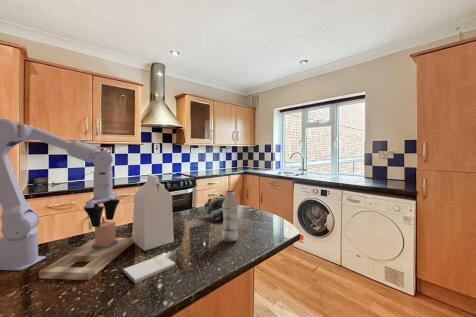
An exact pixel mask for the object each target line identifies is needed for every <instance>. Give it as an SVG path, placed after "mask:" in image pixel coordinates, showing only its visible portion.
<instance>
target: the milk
mask: <svg viewBox="0 0 476 317" xmlns="http://www.w3.org/2000/svg"><path fill="white" fill-rule="evenodd" d="M173 215H174V212H173V197H172V194H171V193H170V191H169V190H168V189H166V188H165V186H164V185H163V183H160V178H159V176H158V175H154V174H148V175H147V180H146V182H145V183H144V184H143V185H142V186H141V187H140V188H139V189H138V190H137V191H136V192H135V194H134V197H133V214H132V232H131V238H133V243H134V244H135V245H137V246H138V247H139V248H140V249H142V250H143V251H148V250H152V249H155V248H158V247H161V246H165V245H167V244H171V243H174V242H175V240H174V217H173Z"/></svg>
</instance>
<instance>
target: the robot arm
mask: <svg viewBox="0 0 476 317" xmlns="http://www.w3.org/2000/svg"><path fill="white" fill-rule="evenodd" d="M25 140H26V141H40V142H42V143H44V144H48V145H51V146H53V147H57V148H59V149H62V150H65V151H66V153H67V154H68V156H69V157H73V158H75V159H77V160H81V161H83V162H86V163H89V164H90V163H92V164H93V165H94V168H93V170H94V171H93V172H92V173H93V178H92V179H93V186H92V187H93V197H92V198H90V199H88V200H87V201H85V206H83V210H84V211H85V213H86V214H87V216H88V218H89V220H90V223H91V227H93V228H95V227H99V226H100V223H101V219H102V218H101V217H102V215H103V214H102V213H103V210H104V212H105V214H104V215H105V219H106V220H108V221H112V220H114V218H115V212H116V210H117V208H118V205H119V204H120V202H121V201H120V199H118V193H117V192H115V193H113V171H112V170H113V165H112V163H113V161H114V159H113V155H112V154H111V153H110V152H109V151H107V150H101V149H102V147H100V146H97V147H96V146H94V145H91V144H89V143H87V141H86V140H84V139H81V140H80V139H76V140H72V141H70V140H68V139H66V138H63V137H61V136H59V135H56V134H54V133H51V132H49V131H47V130H45V129H42V128H38V127H35V126H32V125H28V124H24V123H22V122H17V121H12V120H9V119H7V118H6V119H5V118H0V206H1V209H2V211H1V214H0V220H1V224H2V226H1V227H0V232H1V234H2V237H0V271H20V272H21V271H24V270H25V269H28V268H29V267H31V266H33V265H35V264H37V263H39V262H41V261H42V260H45V259H46V258H47V257H46V256H43V255H39V236H38V235H39V234H38V233H39V231H38V229H37V225H39V223H40V221H41V220H40V215H39V214H38V212H36V211H34V210H33V208H32V206H31V205H30V204H29V203H28V202H27V201H26V199H25V196H24V193H23V191H22V188H21V186H20V184H19V181H18V178H17V175H16V174H15V170H14V168H13V166H12V163H11V161H10V158H9V156H8V154H9V153H10V152H11V151H12V149H14V147H15V146H17V145H19V144H20V143H23V142H24V141H25ZM101 204H103V206H100V205H101Z"/></svg>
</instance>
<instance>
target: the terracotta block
mask: <svg viewBox="0 0 476 317" xmlns="http://www.w3.org/2000/svg"><path fill="white" fill-rule="evenodd" d="M115 238H116V221H102V222H100V226H99V227H94V239H95V246H109V245H110V244H112V243H113V242H115Z"/></svg>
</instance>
